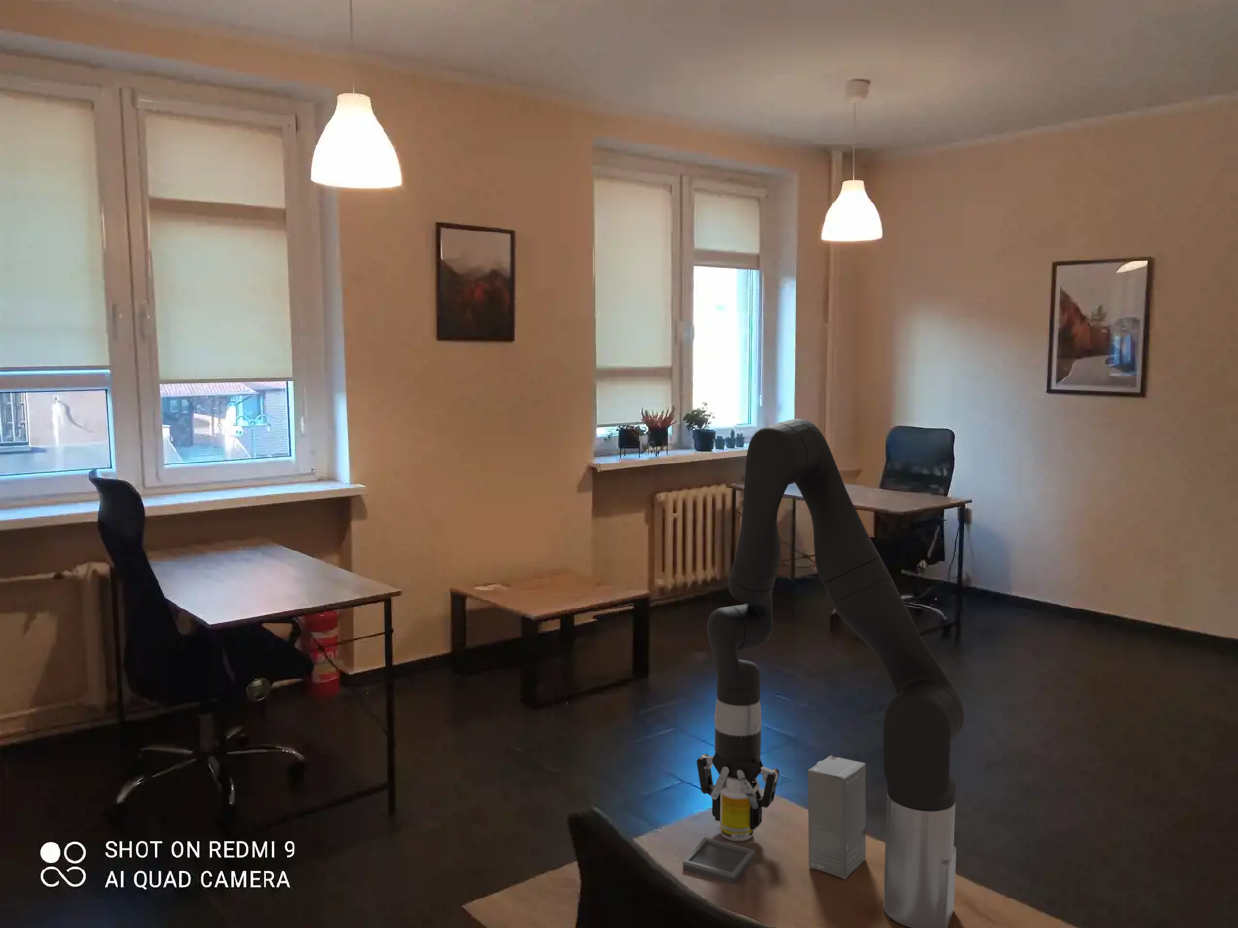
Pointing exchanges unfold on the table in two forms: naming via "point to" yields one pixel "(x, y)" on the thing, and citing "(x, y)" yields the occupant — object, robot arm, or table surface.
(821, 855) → the skincare box
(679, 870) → the table surface
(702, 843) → the charcoal tray
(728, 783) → the supplement bottle
